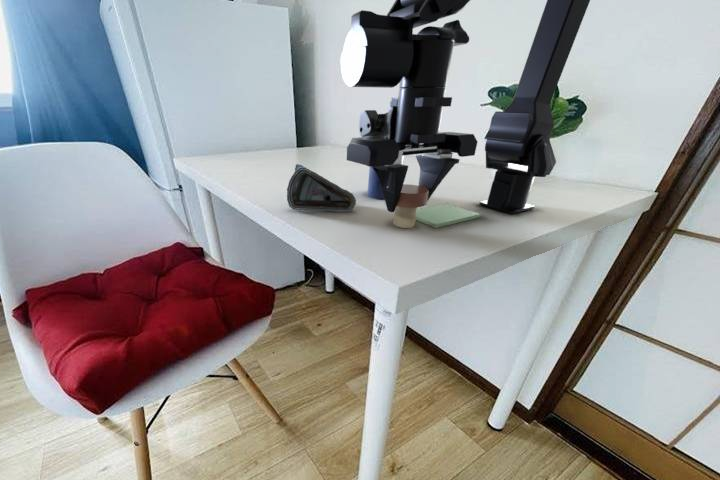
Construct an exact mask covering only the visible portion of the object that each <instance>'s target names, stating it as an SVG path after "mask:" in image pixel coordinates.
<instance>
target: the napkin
mask: <svg viewBox="0 0 720 480" xmlns="http://www.w3.org/2000/svg"><path fill="white" fill-rule="evenodd" d="M480 217H481V213H478V212H476V211H472V210H469V209H466V208H462V207H459V206H456V205H454V204H450V203H447V202H445V203H440V204H435V205H430V206H424V207H419V208H417V214H416V220H415V221H417V222H420V223H422V224H425V225H427V226H430V227H432V228H434V229H438V228H441V227H442V228H443V227H446V226H449V225H454V224H459V223H462V222H467V221H470V220H473V219H474V220H475V219H480Z"/></svg>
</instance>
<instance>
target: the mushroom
mask: <svg viewBox="0 0 720 480" xmlns="http://www.w3.org/2000/svg"><path fill="white" fill-rule="evenodd" d="M428 192H429V190H428V189H427V188H425V187H422V186H419V184H418V185H417V184H408V183H407V184H406V183H403V187H402V190H401V193H400V197H399V200H398V203H397V206H396V208H395V211H394V216H393V223H392V225H394V226H395V227H398V228H400V229H411V228H414V227H415V225H416V221H417V220H416V214H417V209H418V208H423V207H426V205H427V203H428V201H427V199H428Z"/></svg>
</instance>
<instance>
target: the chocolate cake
mask: <svg viewBox="0 0 720 480" xmlns="http://www.w3.org/2000/svg"><path fill="white" fill-rule="evenodd" d="M286 201H287V205H288V207H289V208H291V209H292V210H294V211H300V212H301V211H304V212H334V213H336V212H338V213H348V212H352V211H353V210H354V208H355V207H356V205H357V204H356V203H357V199H356V196H355V194H353V193H352V192H350V191H349V190H347V189H344V188H342V187H340V186H339V185H338V184H336V183H333V182H332V181H330V180H329V179H327V178H325V177H324V176H322V175H320V174H318V173H317V172H315V171H313V170H310V168H307V167H305V166H303V165H302V164H298V163H297V164H296V165H295V167H294V172H293V174H292V175H291V177H290V179H289V181H288V185H287V188H286Z"/></svg>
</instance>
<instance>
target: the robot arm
mask: <svg viewBox="0 0 720 480" xmlns="http://www.w3.org/2000/svg"><path fill="white" fill-rule="evenodd" d="M471 1H472V0H395V1H394V2H393V4H392V6H391V7H390V9H389V11H388V12H387V14H386V15H385V14H378V13H376V12H374V11H371V10H364V9H362V10H360V11H357V12H355V13H353V14H352V15H351V16H350V17H351V21H350V26H351V27H350V28H349V30H348V33H347V34H346V37H345V39H344V44H343V49H342V52H341V55H340V71H341V76H342V80H343V83H344V84H345V85H346V86H347V87H349V88H384V89H385V88H387V89H388V88H390V89H391V88H395V87H397V86H398V85H399V86H398V87H399V89H398V95H397V96H398V97H391V100H390V102H389V108H388V111H387V112H385V113H378V111H377V110H375V109H369V110H368V109H366V110H364V111H362V112H361V113H360V115H359V120H358V121H359V122H358V129H359V130H358V131H359V135H360V136H361V137H360V136H359V137H352V138H351V140H350V141H349V142H348V144H347V147H346V161H349V162H352V163H355V164H359V165H364V166H366V167H369V166H370V167H372V168H373V170H374V171H375V172H376V174H377V176H378V178H379V181H380V184H381V187H382V191H383V195H384V199H383V200H384V202H385V205H386V206H385V207H386V209H387V211H388V212H390V213H395V208H396V206H397V203H398V200H399V197H400V193H401V190H402V187H403V184H405V180H406V177H407V173H408V170H409V165H407V164H403V165H402V164H401V161H402V156H403V155H404V156H411V155H412V156H413V155H415V158H416V161H417V163H418V166H419V178H418V186H422V187H425V188H427V189H428V190H429V192H428V199H427V202H428V201H429V200H430V198H431V197H432V196H433V194H434V193H435V191H436V190H437V188H438V187H439V186H440V184H441V183H442V181H443V180H444V179H445V177H446V176H448V174H449V172H450V171H451V170H452V169H453V168H454V166H455V165H456V164H459V163H460V158H454V157H453V154H454V153H455V154H457V155H458V157H461V158H462V157H464V158H465V157H472V156H473V157H474V156H475V155H476V151H477V147H478V140H477V138H476V135H475V134H474V133H465V132H464V133H463V132H454V131H442V132H441V131H440V129H441V122H442V118H443V117H442V116H443V110H444V107H452V101H453V97H452V96H446V93H447V85H448V81H449V74H450V69H451V62H452V55H453V50H454V47H457V46H463V45H467V44H469V42H470V36H469V35H468V33H467V32H466V30H465V29H464V28H463V27H462V25H461V21H460V20H459V19H456V20H455V19H454V20H452V21H448V22H445V23H444V24H443V26H442V27H441V26H433V25H429V26H425V25H428V24H431V23H434V22H438V20H441V19H444V18H447V17H450V16H454V15H456V14H458V13H459V12H461V11H463V10H464V9H465V8H466V7H467V5H469V3H470V2H471ZM590 2H591V0H546V3H545V5H544V7H543V8H544V9H543V12H542V15H541V17H540V20H539V23H538V26H537V28H536V32H535V34H534V38H533V39H532V43H531V46H530V50H529V52H528V55H527V58H526V61H525V64H524V67H523V70H522V72H521V76H520V78H519V80H518V81H519V82H518V84H517V87H516V91H515V93H514V96H513V99H512V101H511V102H510V103H509V104H508V105H507V106H506V108H505V109H504V110H503V111H495V112H494V113H493V115H492V116H491V120H490V125H489V128H488V131H487V133H486V135H485V136H484V140H485V145H484V152H485V168H486V169H488V170H489V169H491V170H496V171H495V173H494V176H493V181H492V183H491V185H490V190H489V193H488V194H489V195H488V198H487V199H485V200H480V201H479V203H478V205H480V206H484V207H486V208H490V209H494V210H497V211H501V212H504V213H508V214H512V215H514V214H517V213H522V212H526V211H531V210H534V209H535V206H536V205H533V204H530V203H527V202H528V200H529V195H530V193H531V189H532V187H533V185H534V184H533V183H534V181H535V178H546V176H549V175H550V174H552V171H553V169H554V167H555V166H556V164H557V159H556V155H555V152H554V150H553V147H552V143H551V137H552V133H553V131H554V127H555V121H554V117H553V113H552V109H551V102H552V99H553V97H554V94H555V93H556V89H557V87H558V85H559V82H560V79H561V77H562V73H563V71H564V68H565V66H566V64H567V61H568V59H569V55H570V53H571V50H572V48H573V46H574V43H575V42H576V41H575V40H576V37H577V35H578V33H579V30H580V28H581V25H582V22H583V20H584V17H585V15H586V12H587V10H588V7H589V5H590ZM423 26H425V27H423ZM418 27H423V28H422V29H420V30H419V31H418V32H417V33H413V31H414V29H415V28H418Z"/></svg>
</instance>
